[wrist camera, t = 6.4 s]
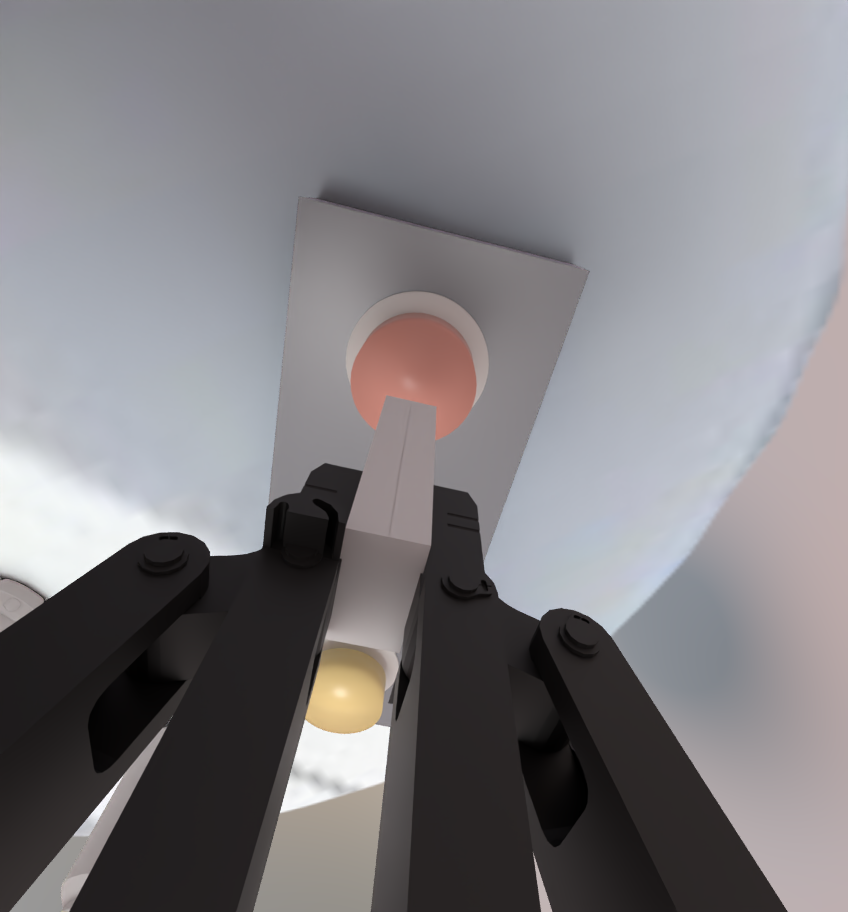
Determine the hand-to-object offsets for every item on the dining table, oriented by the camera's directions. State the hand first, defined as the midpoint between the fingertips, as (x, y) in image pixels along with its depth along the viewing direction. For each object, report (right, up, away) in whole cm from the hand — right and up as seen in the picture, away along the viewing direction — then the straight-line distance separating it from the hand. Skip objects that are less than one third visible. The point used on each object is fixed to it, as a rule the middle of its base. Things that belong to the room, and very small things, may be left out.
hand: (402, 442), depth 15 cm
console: (-2, -4, +14) cm, 15 cm away
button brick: (0, +3, +6) cm, 7 cm away
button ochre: (-4, -14, +15) cm, 21 cm away
